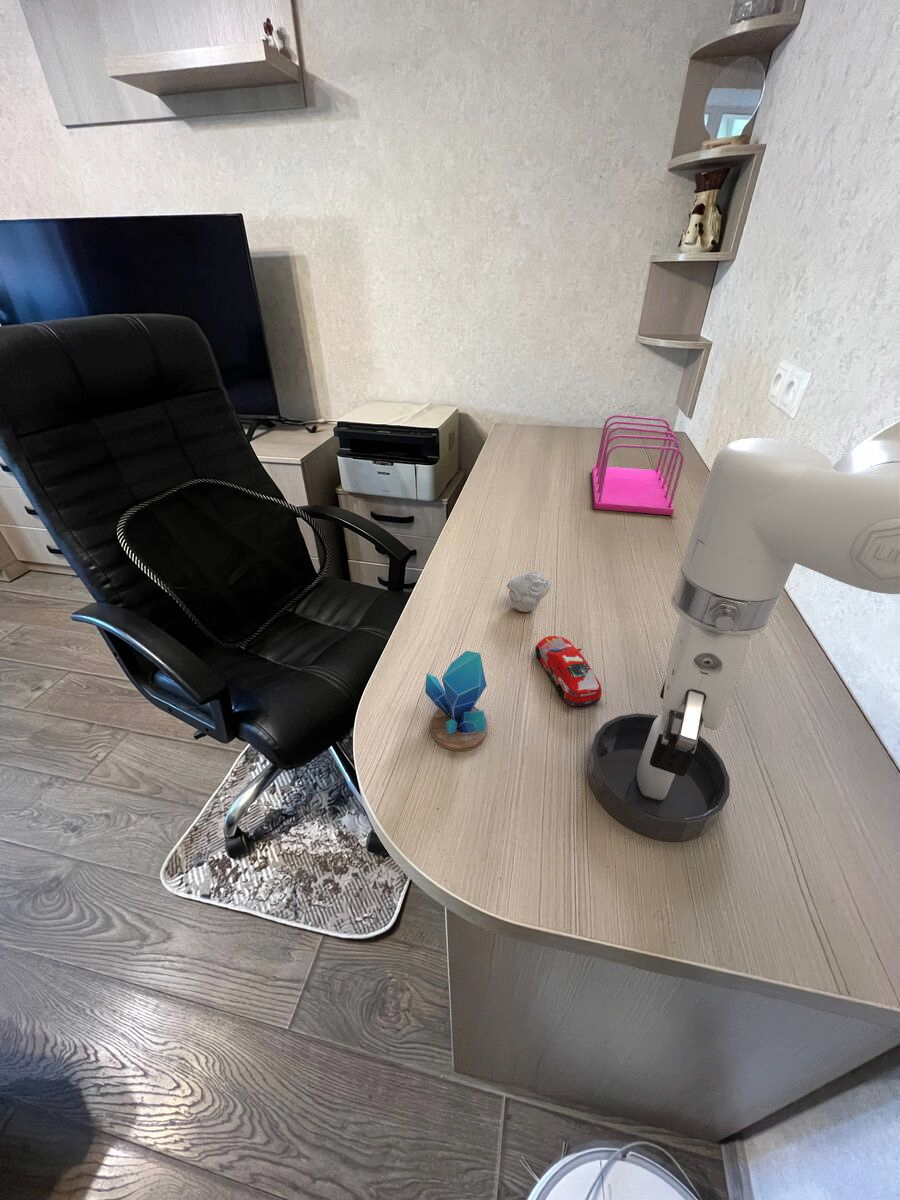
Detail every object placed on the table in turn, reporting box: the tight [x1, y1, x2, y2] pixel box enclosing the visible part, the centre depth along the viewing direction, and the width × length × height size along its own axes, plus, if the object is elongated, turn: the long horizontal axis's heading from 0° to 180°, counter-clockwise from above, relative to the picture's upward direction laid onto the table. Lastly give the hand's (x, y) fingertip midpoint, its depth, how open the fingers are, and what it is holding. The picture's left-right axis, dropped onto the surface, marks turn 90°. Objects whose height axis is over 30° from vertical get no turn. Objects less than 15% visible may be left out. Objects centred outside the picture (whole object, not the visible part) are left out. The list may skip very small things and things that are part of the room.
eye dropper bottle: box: [637, 704, 684, 800], centre depth 52 cm, size 4×6×12 cm
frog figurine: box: [506, 570, 552, 613], centre depth 82 cm, size 6×7×7 cm
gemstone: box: [424, 650, 489, 752], centre depth 59 cm, size 7×9×12 cm
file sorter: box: [591, 414, 685, 516], centre depth 120 cm, size 17×25×16 cm
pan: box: [587, 712, 731, 843], centre depth 55 cm, size 14×14×4 cm
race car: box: [535, 635, 602, 708], centre depth 69 cm, size 13×5×4 cm, turn 13°
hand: (671, 732), depth 51 cm, fingers open, 9 cm apart
